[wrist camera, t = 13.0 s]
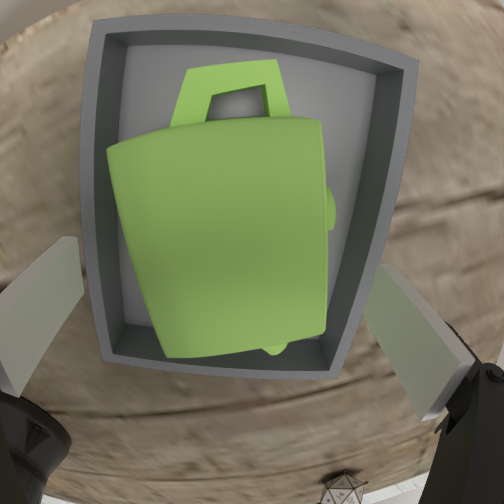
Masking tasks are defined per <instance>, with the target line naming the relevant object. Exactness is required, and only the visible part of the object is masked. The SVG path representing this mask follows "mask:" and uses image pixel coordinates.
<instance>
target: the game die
mask: <svg viewBox="0 0 504 504" xmlns="http://www.w3.org/2000/svg"><path fill="white" fill-rule="evenodd" d="M346 473H347V471H346V469H345V470H344V474H343V475H340V476H338V477H336V478H334V479H332V480H330V481H328V482H325V481H322V483H323V484H324V489H323V493H322V497H321V501H320V503H317V504H361V501H362V496H363V490H364V485H365V484H368V482H369V481H366V482H365V483H363V482H361V481H359V480H357V479H355V478H353V477H351V476H349V475H347V474H346Z"/></svg>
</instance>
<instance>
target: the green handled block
mask: <svg viewBox="0 0 504 504" xmlns="http://www.w3.org/2000/svg"><path fill="white" fill-rule="evenodd" d="M258 87H261V91H262V98H263V105H264V112H265V116H254V117H238V118H226V119H217V120H209V121H207V117H208V114H209V110H210V106H211V102H212V99H213V97H215V96H219V95H224V94H228V93H233V92H238V91H242V90H247V89H252V88H258ZM106 153H107V160H108V166H109V171H110V177H111V182H112V186H113V191H114V196H115V200H116V205H117V209H118V213H119V217H120V221H121V225H122V229H123V233H124V237H125V241H126V244H127V248H128V251H129V255H130V258H131V262H132V265H133V269H134V272H135V275H136V278H137V281H138V284H139V287H140V290H141V293H142V296H143V299H144V302H145V305H146V308H147V310H148V313H149V316H150V319H151V321H152V324H153V327H154V329H155V332H156V335H157V337H158V340H159V342H160V345H161V347H162V349H163V352H164V354H165V356H166V357H167V358H197V357H207V356H216V355H223V354H230V353H236V352H243V351H249V350H254V349H260V348H261V349H263V350H264V351H266V352H267V353H269V354H270V355H277V354H279V353H281V352H282V351H283V350H284V349H285V348H286V346H287V344H288V342H292V341H297V340H301V339H305V338H309V337H313V336H317V335H320V334H323V332H324V331H325V329H326V317H327V291H328V230H329V231H332V230H333V229H334V226H335V221H336V206H335V201H334V197H333V194H332V192H331V190H330V188H329V187H328V186H327V185H326V173H325V158H324V145H323V134H322V126H321V121H318V120H317V119H313V118H306V117H297V116H291V112H290V107H289V103H288V99H287V96H286V92H285V88H284V84H283V80H282V76H281V73H280V69H279V65H278V62H277V59H271V60H256V61H244V62H234V63H225V64H217V65H210V66H203V67H197V68H190V69H187V71H186V74H185V77H184V80H183V83H182V87H181V90H180V93H179V96H178V99H177V103H176V106H175V109H174V113H173V116H172V120H171V123H170V127H167V128H163V129H159V130H156V131H152V132H149V133H145V134H142V135H139V136H136V137H133V138H130V139H128V140H125V141H122V142H119V143H117V144H115V145H112V146H110V147H109V148H107V149H106Z"/></svg>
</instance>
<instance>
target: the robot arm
mask: <svg viewBox="0 0 504 504" xmlns="http://www.w3.org/2000/svg"><path fill="white" fill-rule="evenodd" d="M84 293H85V292H84V286H83V279H82V272H81V264H80V256H79V246H78V237H70V236H62V237H61V238H60V239H59V240H58V241H56V242H55V243H54V244H53V245H52V246H51V247H49V248H48V249H47V250H46V251H45V252H44V253H43V254H42V255H40V256H39V257H38V258H37V259H36V260H35V261H34V262H33V263H32V264H30V265H29V266H28V267H27V268H26V269H25V270H24V271H23V272H22V273H21V274H20V275H19V276H18V277H17V278H16V279H15V280H14V281H13V282H11V283H10V284H9V285H8V286H6V287H4V288H3V289H1V290H0V388H1V390H2V391H0V504H40V503H41V500H42V496H43V493H44V490H45V486H46V483H47V480H48V477H49V476H50V474H51V473H52V472H53V471H54V470H55V469H56V468H57V466H58V465H59V464H60V463H61V462H62V461H63V460H64V458H65V457H66V456H67V455H68V452H69V449H70V446H71V439H70V437H69V435H68V434H67V432H66V431H65V430H64V429H63V428H62V427H61V426H60V425H59V424H58V423H57V422H56V421H55V420H54V419H53V418H52V417H50V416H49V415H48V414H47V413H45V412H44V411H43V410H41V409H40V408H38V407H37V406H35V405H34V404H32V403H30V402H29V401H27V400H25V399H23V398H21V397H20V395H21V393H22V391H23V389H24V388H25V386H26V384H27V382H28V381H29V379H30V377H31V375H32V374H33V372H34V370H35V368H36V367H37V365H38V363H39V362H40V360H41V358H42V357H43V355H44V353H45V352H46V350H47V349H48V347H49V345H50V344H51V342H52V341H53V339H54V337H55V336H56V334H57V333H58V331H59V330H60V328H61V327H62V325H63V323H64V322H65V320H66V319H67V317H68V316H69V314H70V313H71V312H72V310H73V309H74V307H75V306H76V304H77V303H78V301H79V300H80V298H81V297H82V296H83V294H84ZM362 315H363V317H364V319H365V321H366V322H367V324H368V326H369V327H370V329H371V331H372V333H373V334H374V336H375V338H376V340H377V341H378V343H379V345H380V347H381V348H382V350H383V352H384V354H385V355H386V357H387V359H388V361H389V363H390V364H391V366H392V368H393V370H394V372H395V374H396V375H397V377H398V379H399V381H400V383H401V385H402V387H403V388H404V390H405V392H406V394H407V396H408V398H409V400H410V402H411V404H412V405H413V407H414V409H415V411H416V413H417V415H418V417H419V419H420V421H424V420H429V419H433V418H437V416H438V415H439V414H440V412H441V411H442V410H443V408H444V407H445V406H446V408H447V410H448V411H449V413H448V414H447V416H446V417H445V418H444V419H443V421H442V422H441V423H440V424H439V426H438V427H437V428H436V430H435V431H434V433H435V434H436V433H437V432H438V431H439V430H440V429H442V431H441V434H440V438H439V442H438V446H437V449H436V453H435V456H434V460H433V463H432V466H431V469H430V472H429V475H428V478H427V481H426V484H425V487H424V490H423V492H422V495H421V498H420V500H419V503H418V504H504V371H503V370H502V369H501V368H500V367H499V366H497V365H495V364H492V363H484V364H482V363H481V361H480V360H479V359H478V358H477V356H476V355H475V354H474V353H473V351H472V350H471V349H470V348H469V346H468V345H467V344H466V343H465V342H464V340H463V339H462V338H461V337H460V336H458V333H457V332H456V331H455V330H454V328H453V327H452V326H451V325H449V324H448V323H447V322H445V321H444V320H443V319H442V318H441V317H440V316H439V315H438V314H437V313H436V311H435V310H434V309H433V308H432V307H431V306H430V305H429V303H428V302H427V301H426V300H425V299H424V298H423V297H422V296H421V294H420V293H419V292H418V291H417V290H416V289H415V288H414V287H413V286H412V285H411V284H410V282H409V281H408V280H407V279H406V278H405V277H404V276H403V275H402V274H401V273H400V272H399V271H398V270H397V269H396V268H395V266H394V265H393V264H382V263H378V267H377V270H376V273H375V276H374V280H373V283H372V286H371V289H370V292H369V295H368V298H367V301H366V304H365V307H364V310H363V313H362Z"/></svg>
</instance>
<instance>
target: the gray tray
mask: <svg viewBox="0 0 504 504" xmlns="http://www.w3.org/2000/svg"><path fill="white" fill-rule="evenodd" d="M271 59H277V62H278V65H279V69H280V73H281V76H282V80H283V84H284V88H285V92H286V96H287V99H288V103H289V107H290V112H291V116H297V117H306V118H313V119H317V120H318V121H321V126H322V134H323V145H324V158H325V173H326V185H327V186H328V187H329V188H330V190H331V192H332V194H333V197H334V201H335V206H336V221H335V226H334V229H333V230H332V231H329V230H328V291H327V317H326V329H325V331H324V332H323V334H320V335H317V336H313V337H309V338H305V339H301V340H297V341H292V342H288V344H287V346H286V348H285V349H284V350H283V351H282V352H281V353H279V354H277V355H270V354H269V353H267V352H266V351H264V350H263V349H261V348H260V349H254V350H249V351H243V352H236V353H230V354H223V355H216V356H207V357H197V358H167V357H166V356H165V354H164V352H163V349H162V347H161V345H160V342H159V340H158V337H157V335H156V332H155V329H154V327H153V324H152V321H151V319H150V316H149V313H148V310H147V308H146V305H145V302H144V299H143V296H142V293H141V290H140V287H139V284H138V281H137V278H136V275H135V272H134V269H133V265H132V262H131V258H130V255H129V251H128V248H127V244H126V241H125V237H124V233H123V229H122V225H121V221H120V217H119V213H118V209H117V205H116V200H115V196H114V191H113V186H112V182H111V177H110V171H109V166H108V160H107V153H106V149H107V148H109V147H110V146H112V145H115V144H117V143H119V142H122V141H125V140H128V139H130V138H133V137H136V136H139V135H142V134H145V133H149V132H152V131H156V130H159V129H163V128H167V127H170V123H171V120H172V116H173V113H174V109H175V106H176V103H177V99H178V96H179V93H180V90H181V87H182V83H183V80H184V77H185V74H186V71H187V69H190V68H197V67H203V66H210V65H217V64H225V63H234V62H244V61H256V60H271ZM418 67H419V60H417V59H414V58H412V57H409V56H406V55H404V54H401V53H398V52H396V51H393V50H390V49H387V48H384V47H381V46H378V45H375V44H372V43H369V42H366V41H363V40H359V39H356V38H352V37H349V36H345V35H341V34H337V33H333V32H329V31H325V30H321V29H316V28H311V27H307V26H302V25H296V24H291V23H285V22H279V21H272V20H265V19H257V18H248V17H238V16H226V15H208V14H157V15H139V16H127V17H117V18H109V19H101V20H94V21H93V25H92V30H91V35H90V41H89V47H88V53H87V60H86V67H85V75H84V84H83V94H82V106H81V121H80V147H79V182H80V208H81V224H82V237H83V247H84V257H85V265H86V273H87V280H88V287H89V294H90V300H91V306H92V311H93V317H94V322H95V327H96V332H97V337H98V342H99V346H100V350H101V355H102V359H103V361H106V362H112V363H117V364H123V365H129V366H135V367H142V368H149V369H156V370H163V371H171V372H179V373H189V374H198V375H209V376H222V377H237V378H256V379H297V380H308V379H337V378H338V376H339V373H340V371H341V369H342V366H343V364H344V361H345V359H346V356H347V354H348V351H349V349H350V346H351V344H352V341H353V339H354V336H355V333H356V331H357V328H358V325H359V323H360V320H361V317H362V313H363V310H364V307H365V304H366V301H367V298H368V295H369V292H370V289H371V286H372V283H373V280H374V276H375V273H376V270H377V267H378V263H380V259H381V256H382V253H383V249H384V246H385V242H386V239H387V235H388V231H389V227H390V224H391V220H392V216H393V212H394V208H395V204H396V200H397V195H398V191H399V187H400V182H401V177H402V173H403V168H404V163H405V158H406V153H407V147H408V142H409V136H410V130H411V123H412V117H413V110H414V103H415V95H416V87H417V77H418ZM254 116H265V112H264V105H263V98H262V91H261V87H258V88H252V89H247V90H242V91H238V92H233V93H228V94H224V95H219V96H215V97H213V99H212V102H211V106H210V110H209V114H208V117H207V121H209V120H217V119H226V118H238V117H254Z"/></svg>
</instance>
